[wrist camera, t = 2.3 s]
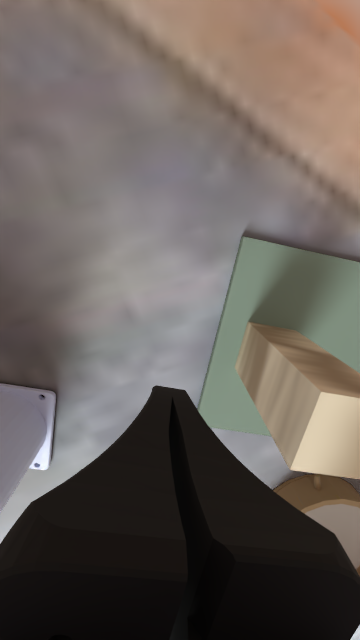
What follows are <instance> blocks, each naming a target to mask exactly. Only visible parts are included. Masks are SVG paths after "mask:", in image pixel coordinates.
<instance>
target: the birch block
mask: <svg viewBox="0 0 360 640" xmlns="http://www.w3.org/2000/svg"><path fill="white" fill-rule="evenodd" d="M235 369H236V371H237V373H238V375H239V377H240V378H241V380H242V382H243V384H244V386H245V388H246V389H247V391H248V393H249V395H250V397H251V399H252V401H253V402H254V404H255V406H256V408H257V410H258V412H259V414H260V415H261V417H262V419H263V421H264V423H265V425H266V426H267V428H268V430H269V432H270V434H271V436H272V438H273V439H274V441H275V443H276V445H277V447H278V449H279V451H280V452H281V454H282V456H283V458H284V460H285V462H286V463H287V465H288V467H289V469H290V470H294V471H302V472H309V473H317V474H324V475H332V476H339V477H346V478H354V479H360V373H359V372H357V371H356V370H354V369H353V368H351V367H350V366H348V365H347V364H345V363H344V362H342V361H341V360H339V359H338V358H336V357H335V356H333V355H332V354H330V353H329V352H327V351H326V350H324V349H323V348H321V347H320V346H318V345H317V344H315V343H314V342H312V341H311V340H309V339H308V338H306V337H305V336H303V335H302V334H300V333H299V332H297V331H295V330H290V329H285V328H280V327H274V326H269V325H264V324H259V323H253V322H248V323H247V326H246V330H245V333H244V337H243V340H242V343H241V347H240V350H239V354H238V357H237V361H236V364H235Z"/></svg>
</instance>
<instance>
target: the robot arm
mask: <svg viewBox="0 0 360 640" xmlns="http://www.w3.org/2000/svg"><path fill="white" fill-rule="evenodd" d="M41 395H44V396H45V397H42V396H41ZM55 404H56V394H55V393H54V392H53V391H49V390H42V389H35V388H29V387H22V386H16V385H9V384H2V383H0V513H1V511H2V510H3V508H4V507H5V505H6V504H7V502H8V500H9V499H10V497H11V496H12V494H13V492H14V491H15V489H16V488H17V486H18V484H19V483H20V481H21V480H22V478H23V476H24V475H25V473H26V472H27V470H28V468H31V469H39V470H46V469H48V468H49V466H50V463H51V451H52V439H53V427H54V416H55ZM38 463H39V464H38ZM359 624H360V576H359V574H358V572H357V571H356V569H355V567H354V565H353V564H352V562H351V560H350V558H349V557H348V555H347V553H346V552H345V550H344V548H343V546H342V545H341V543H340V541H339V540H338V538H337V537H336V535H335V534H334V533H333V532H331V531H330V530H328V529H327V528H325V527H324V526H322V525H321V524H319V523H318V522H316V521H315V520H313V519H312V518H310V517H309V516H307V515H306V514H304V513H303V512H301V511H300V510H298V509H297V508H295V507H294V506H293V505H291V504H290V503H289V502H287V501H286V500H285V499H283V498H282V497H281V496H279V495H278V494H277V493H275V492H274V491H273V490H272V489H270V488H269V487H268V486H267V485H266V484H264V483H263V482H262V481H261V480H260V479H258V478H257V477H256V476H255V475H254V474H253V473H252V472H251V471H249V470H248V469H247V468H246V467H245V466H244V465H243V464H242V463H241V462H240V461H239V460H238V459H237V458H236V457H235V456H234V455H233V454H232V453H231V452H230V451H229V450H228V449H227V448H226V447H225V446H224V444H223V443H222V442H221V441H220V440H219V439H218V437H217V436H216V435H215V434H214V432H213V431H212V430H211V429H210V427H209V426H208V425H207V423H206V422H205V420H204V419H203V417H202V416H201V415H200V413H199V412H198V410H197V408H196V407H195V405H194V404H193V402H192V400H191V399H190V397H189V396H188V394H187V392H186V391H185V390H181V389H174V388H168V387H162V386H154V387H153V388H152V392H151V395H150V397H149V399H148V401H147V403H146V404H145V406H144V407H143V409H142V410H141V412H140V413H139V415H138V416H137V417H136V418H135V420H134V421H133V422H132V424H131V425H130V426H129V427H128V428H127V430H126V431H125V432H124V433H123V434H122V435H121V436H120V437H119V438H118V439H117V440H116V441H115V442H114V443H113V444H112V445H111V446H110V447H109V448H108V449H107V450H106V451H104V452H103V453H102V454H101V455H100V456H99V457H98V458H96V459H95V460H94V461H93V462H91V463H90V464H89V465H87V466H86V467H85V468H83V469H82V470H81V471H79V472H78V473H77V474H75V475H74V476H73V477H71V478H70V479H68V480H67V481H65V482H64V483H62V484H61V485H59V486H57V487H56V488H54V489H52V490H51V491H49V492H48V493H46V494H44V495H43V496H41V497H40V498H38V499H36V500H34V501H33V502H31V503H30V505H29V506H28V507H27V508H26V509H25V511H24V512H23V513H22V515H21V516H20V517H19V518H18V520H17V521H16V522H15V524H14V525H13V527H12V528H11V529H10V531H9V532H8V533H7V535H6V536H5V538H4V539H3V541H2V542H1V544H0V640H350V639H351V637H352V636H353V634H354V633H355V631H356V629H357V628H358V626H359Z"/></svg>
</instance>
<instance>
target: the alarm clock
mask: <svg viewBox="0 0 360 640" xmlns="http://www.w3.org/2000/svg"><path fill="white" fill-rule="evenodd" d="M273 491H274V492H275V493H277V494H278V495H279V496H281V497H282V498H283V499H285V500H286V501H287V502H289V503H290V504H291V505H293V506H294V507H295V508H297V509H298V510H300V511H301V512H303V513H304V514H306V515H307V516H309V517H310V518H312V519H313V520H315V521H316V522H318V523H319V524H321V525H322V526H324V527H325V528H327V529H328V530H330V531H331V532H333V533H334V534H335V535H336V537H337V538H338V540H339V541H340V543H341V545H342V546H343V548H344V550H345V552H346V553H347V555H348V557H349V558H350V560H351V562H352V564H353V565H354V567H355V569H356V571H357V572H358V574H359V576H360V495H359V494H358V492H357V491H356V490H355V489H354V487H353V486H352V485H351V484H350V483H348V482H346V481H345V480H343V479H341V478H340V477H336V476H332V475H324V474H309V475H303V476H300V477H297V478H293V479H290V480H288V481H286V482H284V483H283V484H281V485H280V486H278V487H277V488H276V489H274V490H273Z"/></svg>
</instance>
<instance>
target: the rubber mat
mask: <svg viewBox="0 0 360 640" xmlns="http://www.w3.org/2000/svg"><path fill="white" fill-rule="evenodd" d="M248 322H253V323H259V324H264V325H269V326H274V327H280V328H285V329H290V330H295V331H297V332H299V333H300V334H302V335H303V336H305V337H306V338H308V339H309V340H311V341H312V342H314V343H315V344H317V345H318V346H320V347H321V348H323V349H324V350H326V351H327V352H329V353H330V354H332V355H333V356H335V357H336V358H338V359H339V360H341V361H342V362H344V363H345V364H347V365H348V366H350V367H351V368H353V369H354V370H356V371H357V372H359V373H360V262H356V261H351V260H347V259H342V258H338V257H333V256H329V255H324V254H320V253H315V252H311V251H307V250H302V249H298V248H293V247H289V246H284V245H280V244H275V243H271V242H266V241H262V240H257V239H253V238H248V237H241V241H240V245H239V249H238V253H237V257H236V261H235V264H234V268H233V272H232V276H231V280H230V284H229V288H228V292H227V295H226V299H225V303H224V307H223V311H222V315H221V319H220V323H219V327H218V330H217V334H216V338H215V342H214V346H213V350H212V354H211V358H210V361H209V365H208V369H207V373H206V377H205V381H204V385H203V389H202V393H201V396H200V400H199V404H198V408H197V410H198V412H199V413H200V415H201V416H202V417H203V419H204V420H205V422H206V423H207V425H208V426H209V427H211V428H218V429H225V430H232V431H238V432H245V433H252V434H259V435H266V436H271V434H270V432H269V430H268V428H267V426H266V425H265V423H264V421H263V419H262V417H261V415H260V414H259V412H258V410H257V408H256V406H255V404H254V402H253V401H252V399H251V397H250V395H249V393H248V391H247V389H246V388H245V386H244V384H243V382H242V380H241V378H240V377H239V375H238V373H237V371H236V369H235V364H236V361H237V357H238V354H239V350H240V347H241V343H242V340H243V337H244V333H245V330H246V326H247V323H248Z"/></svg>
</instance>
